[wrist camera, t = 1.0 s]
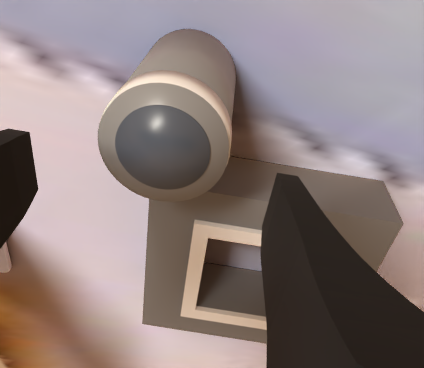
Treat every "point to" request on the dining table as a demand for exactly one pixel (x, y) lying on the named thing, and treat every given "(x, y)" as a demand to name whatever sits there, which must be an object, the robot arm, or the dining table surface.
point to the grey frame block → (246, 234)
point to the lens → (172, 119)
